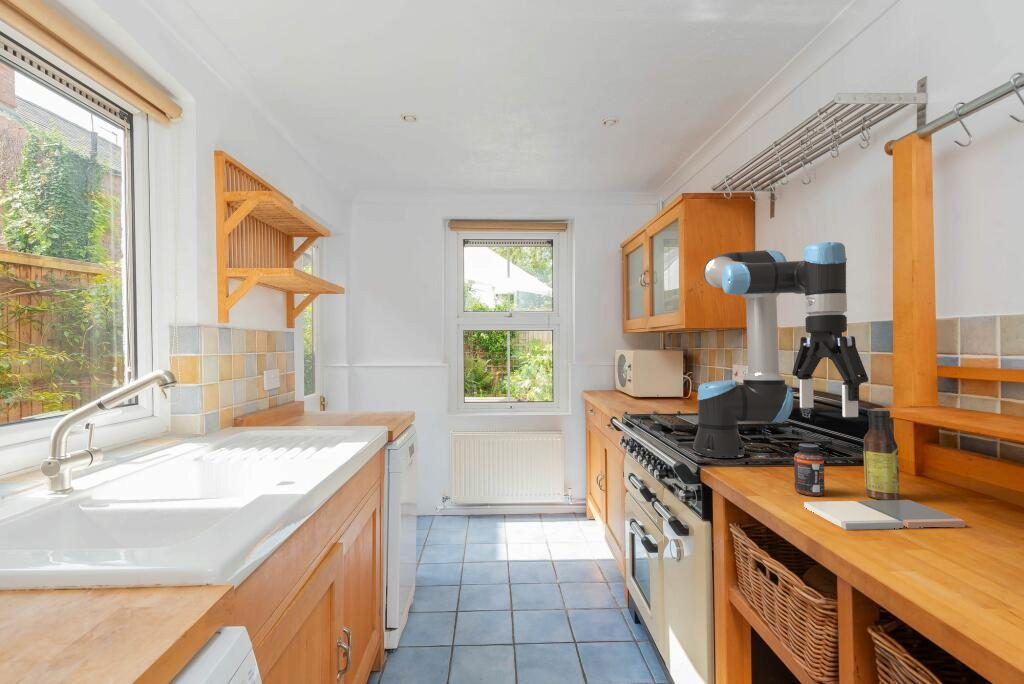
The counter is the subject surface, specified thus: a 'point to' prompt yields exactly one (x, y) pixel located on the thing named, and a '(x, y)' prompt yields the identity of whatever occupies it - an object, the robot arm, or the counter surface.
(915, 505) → the grey square coaster
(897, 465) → the sauce bottle
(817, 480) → the supplement bottle
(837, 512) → the cream square tile
